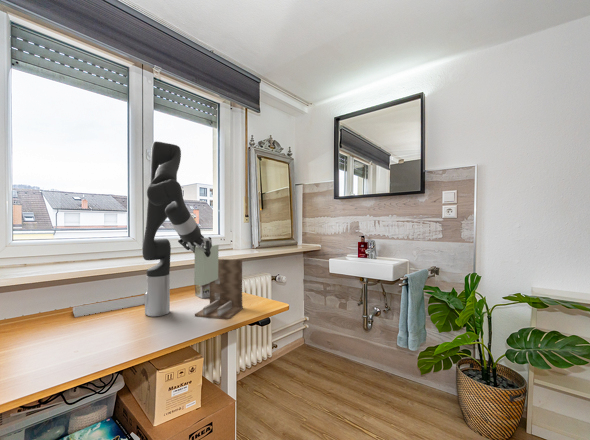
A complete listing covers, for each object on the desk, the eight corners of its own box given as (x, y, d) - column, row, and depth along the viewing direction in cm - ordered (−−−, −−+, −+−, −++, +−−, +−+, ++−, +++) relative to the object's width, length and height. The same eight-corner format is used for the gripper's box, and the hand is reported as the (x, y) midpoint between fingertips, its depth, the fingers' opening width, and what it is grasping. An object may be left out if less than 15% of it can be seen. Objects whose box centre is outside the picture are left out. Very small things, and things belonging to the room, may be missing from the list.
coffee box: (213, 296, 154) (213, 266, 154) (202, 298, 150) (201, 268, 150) (205, 293, 161) (205, 264, 161) (194, 295, 156) (194, 266, 156)
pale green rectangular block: (192, 284, 114) (192, 247, 114) (208, 278, 126) (208, 244, 125) (203, 285, 113) (203, 247, 113) (218, 278, 125) (218, 244, 124)
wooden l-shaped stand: (194, 316, 123) (194, 263, 123) (211, 305, 138) (211, 258, 138) (228, 319, 120) (228, 264, 120) (242, 308, 134) (242, 259, 134)
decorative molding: (73, 318, 129) (74, 318, 122) (72, 307, 130) (74, 306, 123) (153, 303, 152) (159, 302, 145) (152, 294, 153) (158, 292, 146)
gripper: (207, 219, 106) (222, 248, 118) (174, 219, 109) (192, 247, 121) (199, 234, 100) (216, 263, 112) (164, 233, 104) (184, 261, 116)
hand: (203, 254), depth 117 cm, fingers closed on pale green rectangular block, 4 cm apart
